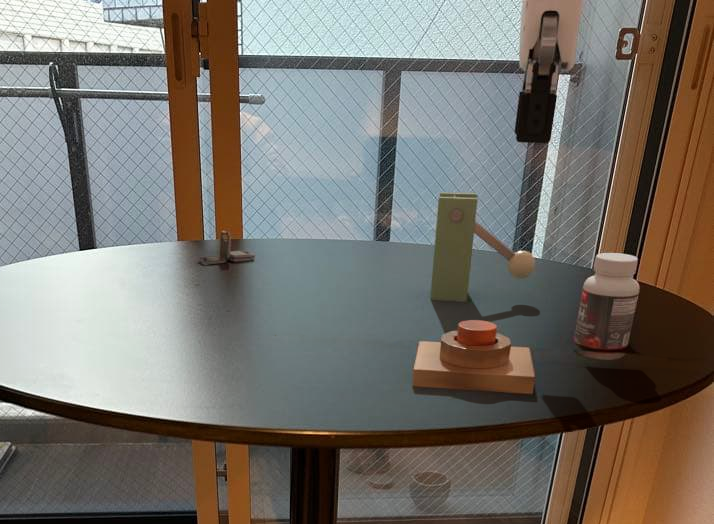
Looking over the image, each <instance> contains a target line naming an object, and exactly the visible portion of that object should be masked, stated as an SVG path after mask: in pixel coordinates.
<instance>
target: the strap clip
mask: <svg viewBox="0 0 714 524" xmlns="http://www.w3.org/2000/svg"><path fill="white" fill-rule="evenodd" d="M220 234H221V235H220V243H219V244H220V247H219V255H216V256H203V257H197V261H198V262H200V263H202V264H203V265H204V264H205V265H217V264H225V263H226V262H228V261H230V262H233V263H237V262H238V263H239V262H249V261H251V260H254V259H255V258H256V256H255V253H252V252H250V251H247V250H234V251H231V249H232V248H231V247H232V237H231V233H230V232H228V231H225V230H221V233H220ZM226 236H227V240H225V237H226Z"/></svg>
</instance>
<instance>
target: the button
mask: <svg viewBox="0 0 714 524" xmlns="http://www.w3.org/2000/svg"><path fill="white" fill-rule="evenodd" d="M457 330H458V331H457ZM457 330H456V331H457V342H458V343H461V344H465V345H470V346H490V345H494V344H495V338H496V333H497V330H498V326H497V324H496V323H494V322H491V321H487V320H479V319H469V320H468V319H467V320H462V321H459V322H458V324H457Z"/></svg>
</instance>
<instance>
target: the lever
mask: <svg viewBox="0 0 714 524" xmlns="http://www.w3.org/2000/svg"><path fill="white" fill-rule="evenodd" d="M453 197H457V196H456V195H454V196H453ZM474 235H476V236H477V237H479V238H480V239H481V240H483V241H484V242H485V243H486V244H487V245H488V246H490V247H491V248H492V249H493V250H494V251H496V252H497V253H498V254H499V255H501V256H502V257H503V258H504V259H506V260H507V261H508V262H507V270H508V273H509V274H510V276H511V277H512V278H514V279H517V280H518V279H519V280H520V279H522V280H523V279H526V278H528V277H529V276H530V275H531V274H532V273H533V272H534V270H535V267H536V262H535V261H536V260H535V257H534V255H533V254H532V253H530V252H529V251H527V250H517V251H513V250H512V249H510V248H509V247H508V246H507V245H506V244H505V243H503V242H502V241H501V240H500V239H499V238H498V237H496V236H495V235H494V234H492V233H491V232H490V231H489V230H488V229H487V228H485V227H484V226H483V225H481V224H480V222H478V221H477V220H475V228H474Z"/></svg>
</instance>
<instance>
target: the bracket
mask: <svg viewBox="0 0 714 524" xmlns="http://www.w3.org/2000/svg"><path fill="white" fill-rule="evenodd" d="M454 195H456V196H457V197H453V196H454ZM478 199H479V198H478V193H476V192H451V191H449V192H448V191H446V192H445V191H440V192H439V196H438V203H437V215H436V216H437V217H436V226H435V236H434V239H435V240H434V250H433V262H432V274H431V286H430V297H429V299H430V301H432V300H433V301H446V302H447V301H448V302H449V301H450V302H464V303H465V302H467V301H468V292H469V282H470V275H471V266H472V265H471V264H472V255H473V246H474V238H475V237H474V236H475V233H474V228H475V221H476V217H477V209H478Z"/></svg>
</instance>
